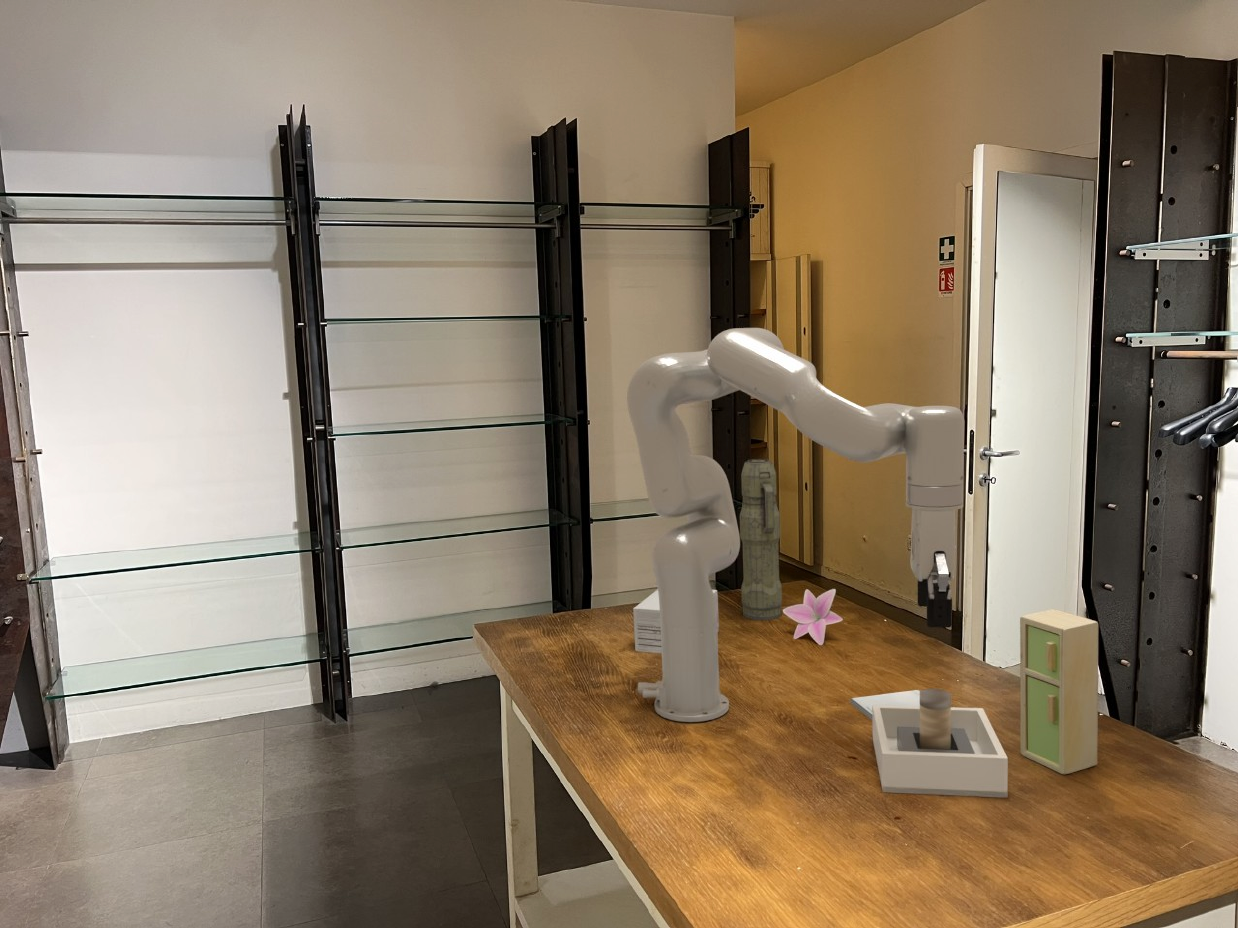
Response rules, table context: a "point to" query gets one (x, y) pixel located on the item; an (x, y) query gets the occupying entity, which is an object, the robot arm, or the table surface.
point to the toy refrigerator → (1059, 690)
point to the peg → (935, 719)
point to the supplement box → (652, 624)
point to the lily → (813, 615)
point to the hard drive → (886, 701)
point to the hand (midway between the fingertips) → (934, 615)
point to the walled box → (939, 755)
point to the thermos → (760, 541)
